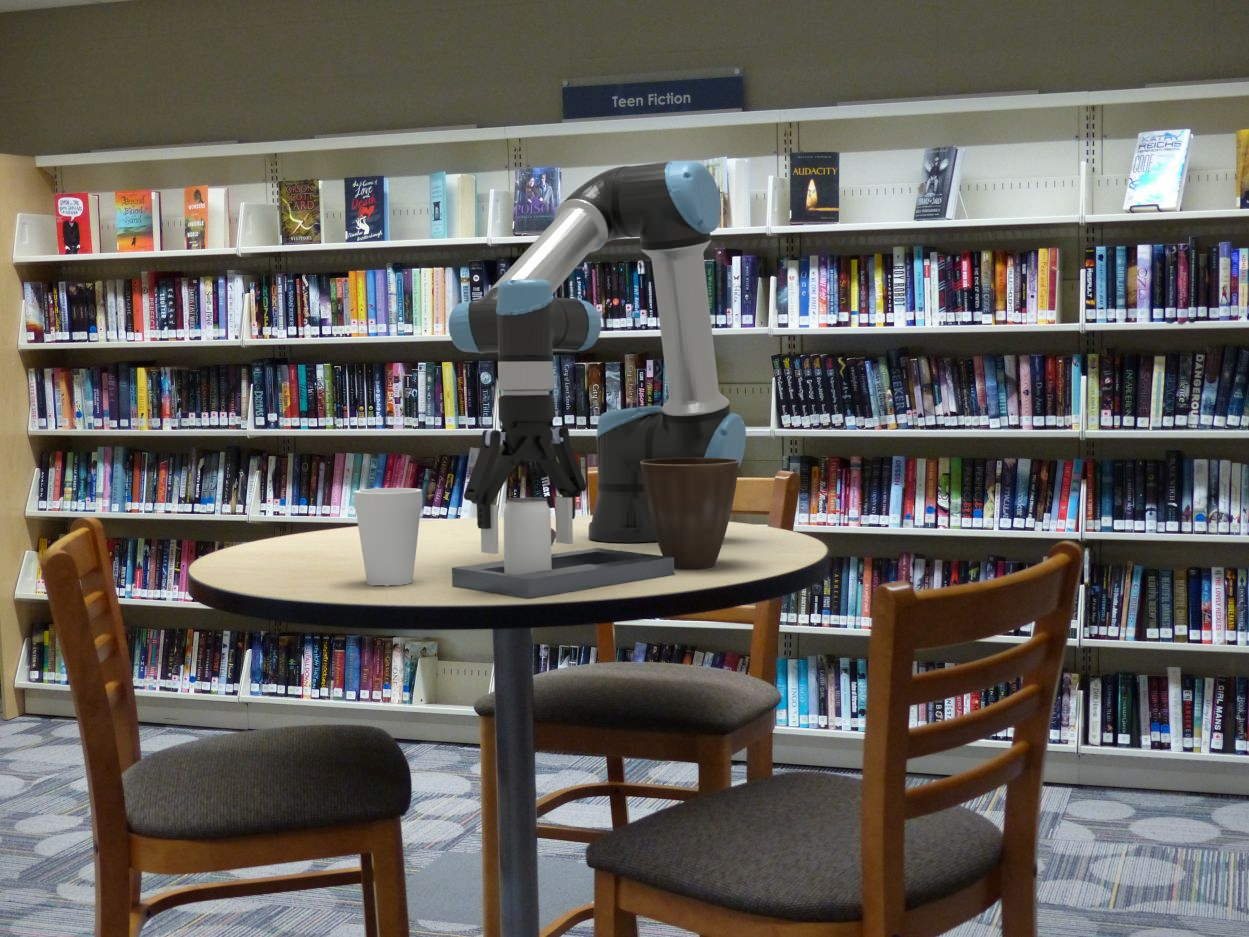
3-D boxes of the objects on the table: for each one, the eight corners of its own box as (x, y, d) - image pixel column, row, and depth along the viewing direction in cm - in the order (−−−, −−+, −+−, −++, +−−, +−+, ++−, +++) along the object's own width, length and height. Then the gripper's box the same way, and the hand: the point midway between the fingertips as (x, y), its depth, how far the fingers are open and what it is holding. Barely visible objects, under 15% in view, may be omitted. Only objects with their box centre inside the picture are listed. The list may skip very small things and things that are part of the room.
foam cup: (358, 589, 180) (356, 494, 180) (353, 579, 189) (350, 489, 188) (428, 585, 183) (426, 492, 182) (419, 576, 192) (417, 487, 191)
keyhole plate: (597, 564, 203) (596, 547, 202) (674, 574, 191) (674, 557, 191) (452, 585, 183) (451, 567, 183) (528, 598, 172) (528, 579, 171)
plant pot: (735, 573, 191) (734, 463, 190) (633, 572, 194) (632, 463, 193) (743, 559, 206) (742, 457, 205) (648, 558, 209) (647, 457, 207)
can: (557, 587, 180) (556, 500, 179) (512, 591, 178) (511, 502, 177) (543, 581, 186) (542, 496, 185) (499, 584, 184) (497, 498, 183)
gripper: (573, 392, 192) (575, 537, 193) (435, 394, 174) (438, 554, 176) (610, 392, 187) (611, 541, 188) (471, 395, 169) (474, 559, 170)
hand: (528, 548), depth 182 cm, fingers open, 13 cm apart
